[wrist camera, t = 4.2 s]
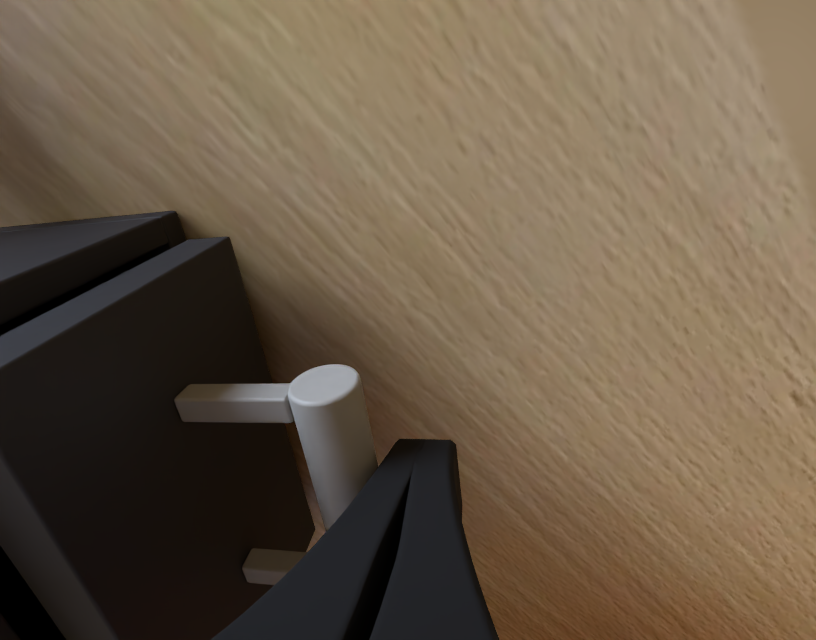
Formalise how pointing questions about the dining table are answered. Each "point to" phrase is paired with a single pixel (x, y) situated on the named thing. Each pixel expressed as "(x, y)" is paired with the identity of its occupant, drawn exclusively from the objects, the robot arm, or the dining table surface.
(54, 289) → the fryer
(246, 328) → the drawer
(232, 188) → the dining table surface
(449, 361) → the dining table surface
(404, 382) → the dining table surface
